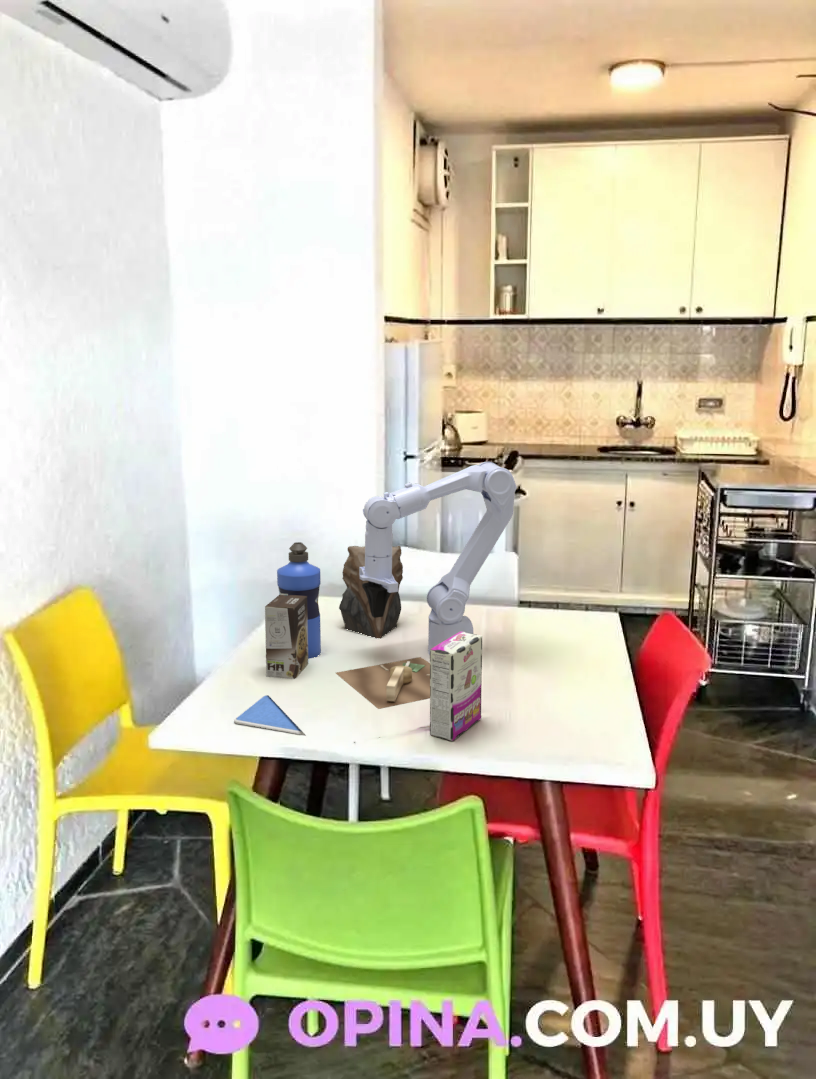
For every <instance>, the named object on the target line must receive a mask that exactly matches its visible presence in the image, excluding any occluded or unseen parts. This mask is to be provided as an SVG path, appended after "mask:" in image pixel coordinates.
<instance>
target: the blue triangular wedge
mask: <svg viewBox="0 0 816 1079" xmlns="http://www.w3.org/2000/svg"><path fill="white" fill-rule="evenodd" d="M233 720H234V721H233V723H234V724H235V725H236V724H238V725H243V726H250V727H254V726H255V728H260V727H261V729H265V728H266V730H271V729H272V730H271V731H277V732H278V731H279V732H283V733H290V734H295V735H299V736H305V737H306V736H307V734H305V732H303V730H302V729H301V728H300V727H299V726H298V725H297V724H296V723H295V722H294V721H293V720H292V719H291V718H290V717H289V715H287V714H286V712H285V711H284V710H283V709H282V708H281V707H280V706H279V705H278V704H277V702H276V701H274V700H273V699H272V697H271V696H270V695H267V694H266V695H263V696H261V697H260V698H259V699H258V700H257V701H256V702H254V703H253V704H251V705H250V706H249V707H248V708H247V709H245V710H244V711H243V712H242V713H240V714H239V715H238V716H237V717H235V718H234V719H233Z"/></svg>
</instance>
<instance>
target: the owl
mask: <svg viewBox="0 0 816 1079" xmlns="http://www.w3.org/2000/svg"><path fill="white" fill-rule="evenodd" d="M347 552H348V557H347V559H346V560H345V562H344V564H343V568H342V580H343V582H344V583H345V586H346V589H345V591H344V592H343V593H342V595H341V596H342V597H341V598H342V599H341V601H340V603H339V606H338V609H339V611H340V615H341V618H342V620H343V624H344V630H345V629H348V630H352V631H351V632H353V631H355V632H359V633H358V634H360V633H362V634H361V635H363V634H365V635H367V636H366V637H368V636H371V637H370V638H373V637H375V638H374V639H377V638H380V639H381V638H383V637H384V636H385V634H386V635H387V634H388V633H389V631H390V632H392V631H393V629H395V627H396V628H397V627H398V622H399V618H400V615H401V612H402V602H401V597H400V592H399V590H400V585H401V584H402V583H401V582H402V581H403V579H404V577H403V573H404V569H403V568H404V565H403V563H402V561H401V556H402V547H401V546H400V545H396V546H393V545H392V575H393V577H394V579H395V581H396V582H397V583H398V592H392V593H391V595H390V596H389V599H388V601H387V604H386V607H385V611H384V615H383V617H377V618H374V617H373V616H372V615H371V611H370V606H369V602H368V598H367V595H366V593H365V591H364V589H363V587H362V584H363V583H368V582H369V581H367V580H366V581H363V580H361V579H360V575H359V567H364V566H365V545H364V546H359V545H349V546H347ZM348 630H347V631H348ZM391 630H392V631H391ZM355 632H354V633H355ZM365 635H364V636H365ZM382 636H383V637H382Z"/></svg>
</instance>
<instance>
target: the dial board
mask: <svg viewBox="0 0 816 1079" xmlns="http://www.w3.org/2000/svg"><path fill="white" fill-rule="evenodd" d="M407 661H410V665H409V667H410V668H412V681H410V682H408V683H403V685H402V687H401V689H400V691H399V693H398V696H397V698H396V700H395V701H386V686H387V684H388V682H389V680H390V669H391V668H392V667H395V666H405V665H406V663H407ZM335 675H337V676H338V677H340V678H341V679H342V680H343V681H344V682H345V683H346V684H348V685H349V686H350V687H351V688H352V689H353V690H355V691H356V692H357V693H358V694H360V695H361V696H362V697H363V698H364V699H366V700H367V702H369V703H371V705H373V706H374V707H375V708H377V710H380V709H386V708H390V707H395V706H400V705H404V704H410V703H414V702H418V701H424V700H428V699H429V700H430V661H427V660H426V659H425V658H423V657H422V656H420V657H413V658H409V659H402V660H397V661H393V662H386V663H382V664H375V665H370V666H369V665H368V666H365V667H360V668H353V669H348V670H343V671H338V672H335Z"/></svg>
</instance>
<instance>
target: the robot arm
mask: <svg viewBox="0 0 816 1079" xmlns="http://www.w3.org/2000/svg"><path fill="white" fill-rule="evenodd" d="M517 488H518V487H517V484H516V481H515V479H514V475H513V473H512V472H511V471H510V470H509V469H507V468H505V467H501V466H499V465H498V464H496V463H494V462H493V461H484V462H481V463H480V464H475V465H474V464H473V465H470V466H468V467H466V468H464V469H462V470H459V471H457V472H455V473H452V474H450V475H447V476H444V477H442V478H440V479H437V480H436V481H433V482H431V483H429V484H427V485H421V484H419V483H414V484H412V483H411V482H407V483H405V484H404V487H402V488H399V489H396V490H393V491H392V492H389V491H386V492H383V496H379V495H376V496H372V497H370V498H369V499H368V500H367V501H366V502H365V504H364V507H363V509H362V513H363V516H364V518H365V519H366V520H365V523H366V524H365V534H364V546H365V566H364V567H359V575H360V579H361V580H363V581H366V580H367V581H369V582H368V583H363V584H362V587H363V589H364V591H365V593H366V595H367V598H368V602H369V606H370V611H371V615H372V616H373V617H374V618H377V617H383V615H384V611H385V607H386V604H387V601H388V599H389V596H390V595H391V593H392V592H398V583H397V582H396V581H395V579H394V577H393V575H392V546H393V524H394V523H395V521H396V520H400V519H402V518H405V517H408V516H410V515H413V514H416V513H418V512H421V511H425V510H426V509H427V507H428V505H429V503H430V502H431V501H433V500H436V499H440V498H443V497H445V496H446V497H447V496H449V495H452V494H455V493H458V492H461V491H465V490H468V491H472V492H477V493H480V494H481V495H482V498H483V501H484V505H485V508H486V511H485V513H484V515H483V516H482V517H481V519H480V521H479V523H478V525H477V526H476V528H475V529H474V531H473V532H472V535H471V536H470V538H469V540H467V543H466V544H465V546H464V547H463V549H462V551H461V552H460V554H459V555H458V557H457V559H456V561H455V563H454V564H453V565H452V568H451V569H450V571H449V572H447V573H446V574H445V575H443V576H442V577H441V578H440V580H439V581H438V582H437V583H436V584H435V585H433V586H432V587H431V588H430V589H429V590H428V592H427V594H426V603H427V605H428V606H429V608H430V609H431V610H430V613H429V614H428V631H427V632H428V636H427V637H428V639H427V644H428V645H427V648H428V649H427V653H428V655H429V656H430V649H431V648H433V647H435V646H436V645H438V644H440V643H442V642H443V641H445V640H447V639H448V638H450V637H452V636H453V635H455V634H457V633H458V632H467V633H472V634H474V626H473V623H472V620H471V618H470V617H468V616H466V615H464V614H465V610H466V604H467V602H468V600H469V598H470V591H471V585H472V583H473V581H474V580H475V579H476V576H477V575H478V573H479V572H480V570H481V568H482V566H483V565H484V563H485V562H486V560H487V558H488V557H489V555H490V553H491V552H492V550H493V548H495V545H496V544H497V543H498V540H499V539H500V537H501V536H502V534H503V533H504V530H506V527H507V525H508V524H509V523H510V521H511V519H512V517H513V515H514V507H515V506H514V505H515V493H516V490H517Z"/></svg>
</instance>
